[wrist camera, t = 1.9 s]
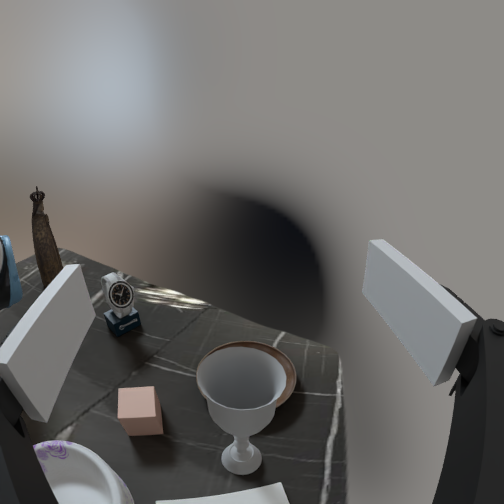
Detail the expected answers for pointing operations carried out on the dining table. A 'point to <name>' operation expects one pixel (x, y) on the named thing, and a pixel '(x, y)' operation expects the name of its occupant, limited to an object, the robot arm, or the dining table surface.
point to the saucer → (274, 353)
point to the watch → (119, 304)
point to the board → (241, 497)
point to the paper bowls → (80, 475)
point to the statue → (44, 242)
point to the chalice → (241, 399)
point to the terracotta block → (140, 411)
